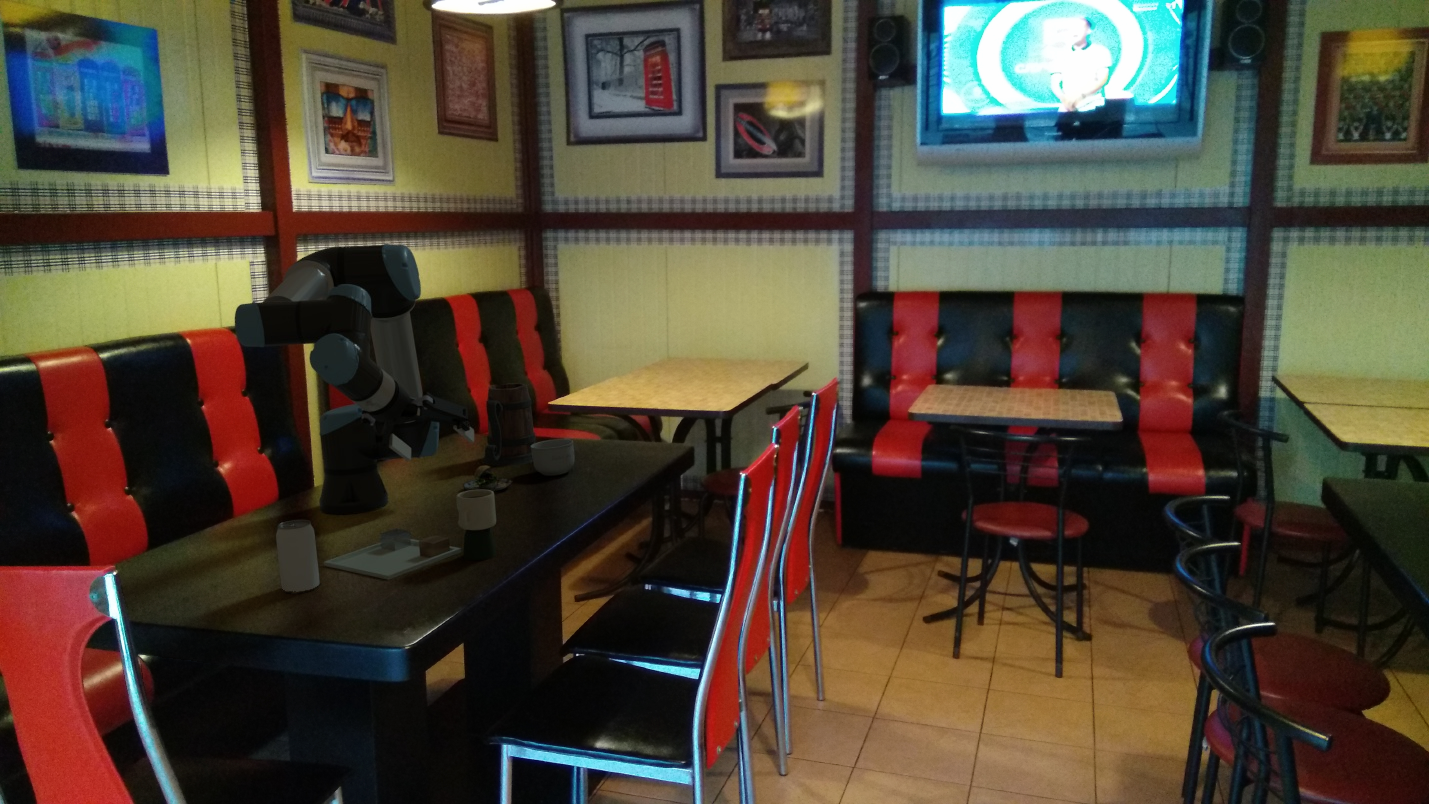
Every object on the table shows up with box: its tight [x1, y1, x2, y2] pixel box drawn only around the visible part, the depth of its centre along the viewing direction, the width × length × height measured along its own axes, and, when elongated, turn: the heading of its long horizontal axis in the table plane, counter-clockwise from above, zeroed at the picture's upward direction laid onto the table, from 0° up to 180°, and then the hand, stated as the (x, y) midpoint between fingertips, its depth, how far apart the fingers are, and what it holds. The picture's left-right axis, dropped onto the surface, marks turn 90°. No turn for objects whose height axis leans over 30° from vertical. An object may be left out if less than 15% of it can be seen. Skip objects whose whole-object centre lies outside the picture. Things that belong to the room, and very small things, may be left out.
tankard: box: [481, 382, 537, 467], centre depth 295 cm, size 24×17×20 cm
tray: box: [323, 538, 462, 581], centre depth 212 cm, size 18×18×2 cm
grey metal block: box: [379, 528, 411, 551], centre depth 219 cm, size 4×4×3 cm
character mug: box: [455, 490, 497, 561], centre depth 211 cm, size 11×7×13 cm, turn 166°
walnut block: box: [419, 535, 451, 558], centre depth 214 cm, size 4×4×3 cm
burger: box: [462, 462, 513, 492], centre depth 266 cm, size 12×12×8 cm
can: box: [275, 519, 321, 592], centre depth 199 cm, size 6×6×12 cm
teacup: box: [531, 437, 575, 477], centre depth 281 cm, size 14×11×8 cm
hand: (440, 445), depth 213 cm, fingers open, 13 cm apart
